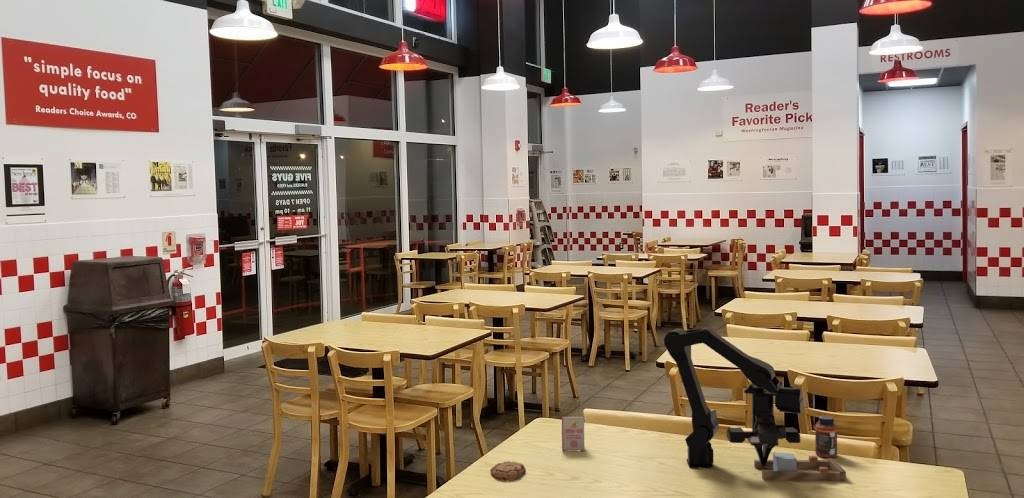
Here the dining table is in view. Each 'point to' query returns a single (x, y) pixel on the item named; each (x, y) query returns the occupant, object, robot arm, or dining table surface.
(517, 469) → the cookie
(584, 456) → the dining table surface
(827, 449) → the supplement bottle
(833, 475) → the channel
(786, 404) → the robot arm
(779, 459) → the rider
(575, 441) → the product box
